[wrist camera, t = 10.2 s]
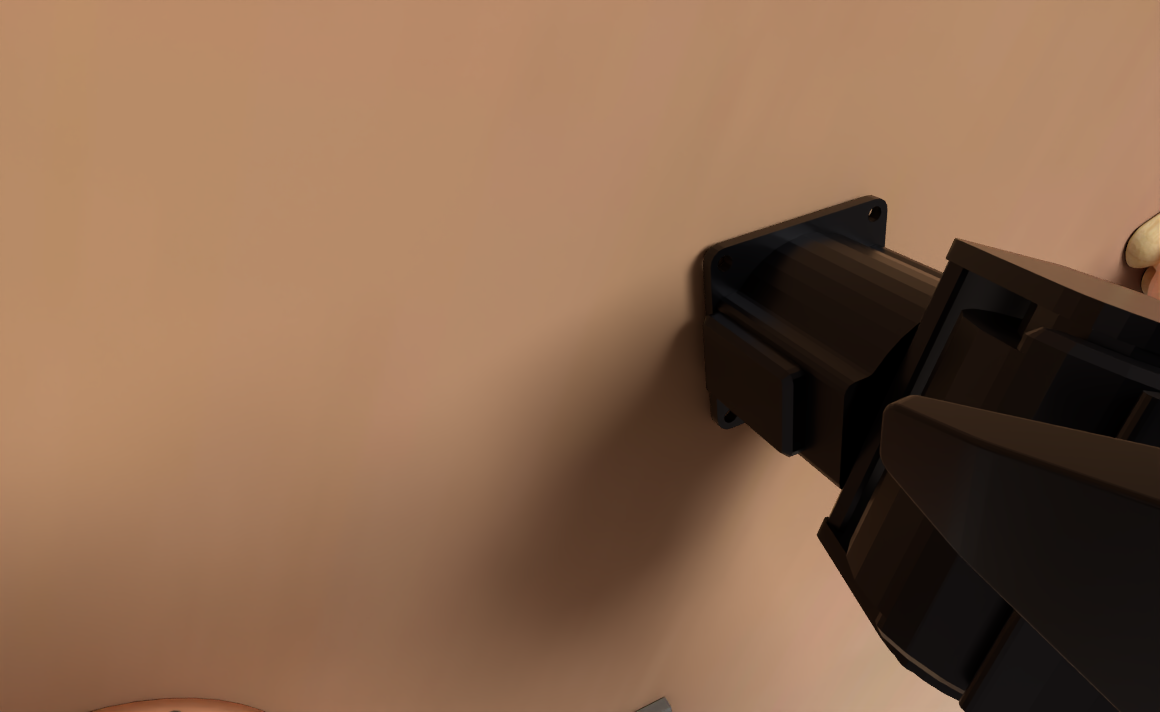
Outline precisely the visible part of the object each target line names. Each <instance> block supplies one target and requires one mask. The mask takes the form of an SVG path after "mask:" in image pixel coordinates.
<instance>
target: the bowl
mask: <svg viewBox="0 0 1160 712" xmlns="http://www.w3.org/2000/svg"><path fill="white" fill-rule="evenodd" d="M173 710H179V711H181V712H264V711H262V710H259V709H255V708H252V707H249V706H246V705H242V704H238V703H232V702H227V701H221V700H212V699H198V698H173V699H157V700H148V701H139V702H132V703H127V704H122V705H117V706H112V707H106V708H102V709H99V710H95V711H92V712H170V711H173Z"/></svg>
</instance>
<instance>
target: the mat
mask: <svg viewBox="0 0 1160 712" xmlns="http://www.w3.org/2000/svg"><path fill="white" fill-rule="evenodd" d="M636 712H672V710H671V706H670V704H669V703H668V701H667V699H666V698H665V697H664V698H662V699H660V700H658V701H656V702H654V703H652V704H650V705H648V706H646V707H644V708H642V709H640V710H638V711H636Z"/></svg>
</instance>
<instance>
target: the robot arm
mask: <svg viewBox="0 0 1160 712" xmlns="http://www.w3.org/2000/svg"><path fill="white" fill-rule="evenodd" d="M871 209H872V211H871V214H870V215H869V212H870V210H871ZM868 215H869V216H868ZM886 222H887V204H886V202H885V201H884V200H882V199H880V198H878V197H875V196H872V195H868V196H864V197H861V198H858V199H854V200H851V201H848V202H845V203H842V204H839V205H836V206H833V207H830V208H826V209H823V210H820V211H817V212H814V213H811V214H808V215H805V216H802V217H798V218H795V219H792V220H789V221H786V222H783V223H780V224H777V225H773V226H770V227H767V228H764V229H761V230H758V231H755V232H752V233H749V234H745V235H742V236H739V237H736V238H733V239H730V240H727V241H724V242H721V243H717V244H715V245H713V246H712V247H711V248H710V249H709V250H708V251H707V252H706V254H705V256H704V260H703V273H704V291H705V310H706V317H705V320H704V323H703V336H704V354H705V372H706V388H707V390H708V391H709V392H710V404H711V417H712V420H713V421H714V422H716V423H717V424H718V425H719V426H720V427H721V428H723V429H730V428H733V427H735V426H738V425H740V424H743V423H746V424H747V425H748V426H750V427H751V428H752V429H753V430H754V431H755V432H757V433H758V434H759V435H760V436H761V437H762V438H764V439H765V440H766V441H767V442H768V443H769V444H771V445H772V446H773V447H774V448H775V449H776V450H778V451H779V452H780V453H782V454H784V455H786V456H788V457H791V456H793V455H796V454H799V455H800V456H802V457H803V458H804V459H805V460H806V461H808V462H809V463H810V464H811V465H812V466H814V467H815V468H816V469H817V470H818V471H820V472H821V473H822V474H823V475H824V476H826V477H827V478H828V479H829V480H830V481H832V482H833V483H834V484H835V485H836V486H838V487H839V488H840V489H842V490H841V492H840V494H839V497H838V499H837V501H836V503H835V505H834V507H833V509H832V511H831V514H830V516H829V517H825V518H824V520H823V522H822V525H821V527H820V529H819V531H818V533H817V537H818V538H819V540H820V542H821V543H822V545H823V546H824V548H825V550H826V551H827V553H828V554H829V556H830V558H831V559H832V561H833V562H834V564H835V566H836V567H837V569H838V570H839V572H840V574H841V575H842V577H843V578H844V580H845V582H846V583H847V585H848V587H849V588H850V590H851V591H852V593H853V595H854V596H855V598H856V599H857V601H858V603H859V604H860V606H861V607H862V609H863V611H864V612H865V614H866V615H867V617H868V619H869V620H870V622H871V623H872V625H873V627H874V628H875V630H876V631H877V633H878V635H879V636H880V638H881V639H882V641H883V642H884V643H885V644H886V646H887V647H888V648H889V650H890V651H891V652H892V653H893V654H894V655H895V657H896V658H897V660H898V661H899V662H900V664H901V665H902V666H904V667H905V668H906V669H908V670H909V671H911V672H913V673H915V674H916V675H917V676H918V677H920V678H921V679H922V680H924V681H925V682H927V683H928V684H930V685H931V686H933V687H935V688H936V689H938V690H939V691H941V692H942V693H944V694H946V695H948V696H950V697H952V698H954V699H956V700H958V701H959V705H960V707H961V708H962V709H963V710H964V711H965V712H1160V301H1159V300H1157V299H1155V298H1153V297H1151V296H1148V295H1145V294H1143V293H1140V292H1137V291H1134V290H1131V289H1128V288H1126V287H1123V286H1120V285H1117V284H1114V283H1111V282H1108V281H1106V280H1103V279H1100V278H1097V277H1094V276H1091V275H1088V274H1086V273H1083V272H1080V271H1077V270H1074V269H1071V268H1068V267H1065V266H1062V265H1058V264H1055V263H1051V262H1047V261H1043V260H1039V259H1035V258H1031V257H1028V256H1024V255H1020V254H1016V253H1012V252H1008V251H1004V250H1001V249H997V248H993V247H989V246H985V245H981V244H978V243H974V242H970V241H966V240H962V239H958V238H955V239H954V241H953V244H952V246H951V248H950V250H949V252H948V254H947V256H946V259H947V260H949V262H948V264H947V266H946V268H945V270H944V272H943V273H942V272H940V271H938V270H935V269H933V268H931V267H929V266H926V265H924V264H922V263H919V262H917V261H915V260H913V259H910V258H908V257H906V256H903V255H901V254H899V253H897V252H894V251H892V250H890V249H887V248H885V235H886ZM723 256H725V259H724V262H723V264H722V265H721V266H719V267H718V262H719V260H720V259H721V258H722V257H723ZM729 410H730V411H729ZM728 411H729V413H728V414H727V415H726V416H725V414H726V413H727V412H728ZM170 712H181V711H179V710H173V711H170Z"/></svg>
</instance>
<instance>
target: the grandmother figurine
mask: <svg viewBox="0 0 1160 712" xmlns="http://www.w3.org/2000/svg"><path fill="white" fill-rule="evenodd" d="M1126 261H1127V264H1128V265H1129V266H1130V267H1133V268H1144V267H1148V268H1147V270H1146V272H1145V273H1144V276H1143V278H1142V282H1141V288H1142V291H1143V293H1144V294H1145V295H1148V296H1151V297H1153V298H1155V299H1157V300H1159V301H1160V213H1159V214H1157V215H1156V216H1155V217H1153V218H1152V219H1151V220H1149V221H1148V222H1146V223H1145V224H1143V225H1142V226H1141V227H1140V228H1139V229H1138V230H1137V231H1136V232H1135V233H1134V235H1133V236H1132V237H1131V238H1130V240H1129V243H1128V245H1127V249H1126Z"/></svg>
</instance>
